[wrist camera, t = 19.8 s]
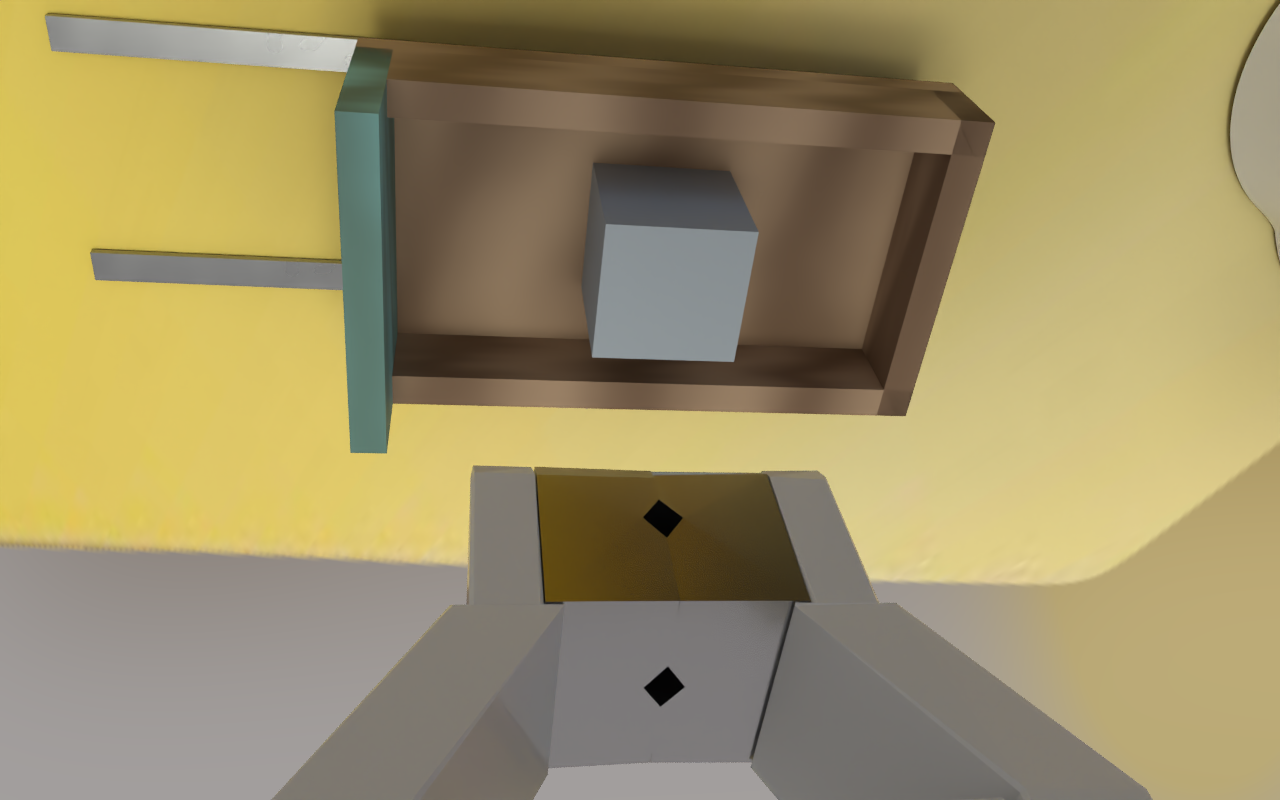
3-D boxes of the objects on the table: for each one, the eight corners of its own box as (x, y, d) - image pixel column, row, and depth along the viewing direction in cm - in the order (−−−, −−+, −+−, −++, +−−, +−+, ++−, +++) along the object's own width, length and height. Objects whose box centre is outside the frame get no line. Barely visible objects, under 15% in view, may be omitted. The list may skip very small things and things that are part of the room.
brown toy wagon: (929, 61, 41) (1032, 157, 34) (858, 331, 48) (930, 462, 40) (365, 16, 38) (334, 111, 30) (373, 312, 45) (350, 452, 37)
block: (730, 171, 39) (759, 232, 35) (709, 292, 42) (733, 362, 38) (592, 162, 38) (605, 224, 34) (581, 286, 41) (591, 357, 37)
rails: (902, 79, 42) (905, 81, 42) (845, 307, 48) (847, 310, 47) (47, 13, 37) (44, 15, 37) (97, 276, 43) (95, 279, 43)
